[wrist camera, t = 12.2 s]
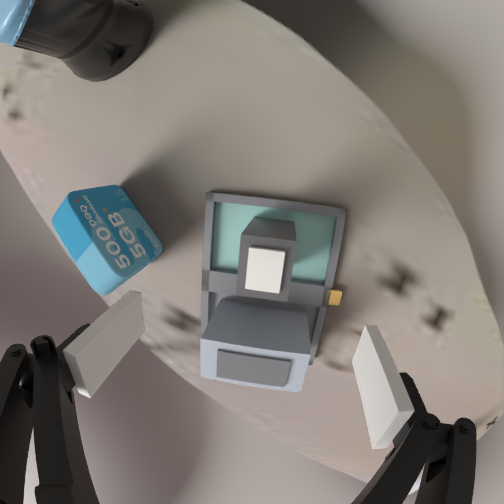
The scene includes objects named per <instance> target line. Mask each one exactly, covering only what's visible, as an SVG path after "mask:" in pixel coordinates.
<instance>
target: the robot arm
mask: <svg viewBox="0 0 504 504" xmlns="http://www.w3.org/2000/svg"><path fill="white" fill-rule="evenodd" d="M152 24H153V22H152V16H151V14H150V12H149V11H148V10H147V9H146V8H145V7H144V6H143V5H142V4H140V3H138V2H136V1H133V0H1V2H0V42H3V43H6V44H9V46H10V47H13V46H14V47H18V48H23V49H27V50H31V51H35V52H38V53H42V54H46V55H49V56H52V57H56V58H59V59H61V60H62V61H63V62H64V63H65V64H66V65H67V66H68V67H69V68H70V69H71V70H72V71H73V72H74V73H75V74H76V75H77V76H78V77H80V78H83V79H86V80H89V81H94V82H97V81H103V80H106V79H109V78H111V77H113V76H115V75H117V74H118V73H120V72H121V71H123V70H124V69H125V68H127V67H128V66H129V65H130V64H131V63H132V62H133V61H134V60H135V59H136V58H137V56H138V55H139V54H140V53H141V51H142V50H143V48H144V47H145V45H146V43H147V41H148V39H149V37H150V34H151V31H152ZM144 331H145V326H144V317H143V307H142V296H141V292H137V291H133V290H130V291H129V292H128V293H127V294H125V295H124V296H123V297H122V298H121V299H120V300H118V301H117V302H116V303H115V304H114V305H113V306H111V307H110V308H109V309H108V310H107V311H106V312H105V313H103V314H102V315H101V316H100V317H99V318H98V319H97V320H96V321H94V322H93V323H92V324H86V325H84V326H81V327H80V328H79V329H77V330H76V331H75V333H73V334H72V335H71V336H70V337H68V339H66V340H65V341H64V342H63V343H62V344H61V345H59V346H58V347H57V348H56V347H55V344H54V341H53V339H52V338H51V337H50V336H47V335H42V336H38V337H36V338H34V339H33V340H32V341H31V343H30V346H31V349H32V351H33V354H30V353H28V352H27V350H26V348H25V346H24V345H22V344H14V345H11V346H10V347H9V348H8V349H7V350H6V352H5V354H4V356H3V358H2V360H1V362H0V504H23V500H24V484H25V474H26V465H27V457H28V451H29V445H30V439H31V433H32V429H33V428H34V443H35V454H36V462H37V469H38V476H39V486H36V487H35V497H36V502H37V504H99V501H98V498H97V495H96V492H95V489H94V486H93V483H92V480H91V477H90V473H89V469H88V466H87V462H86V458H85V454H84V450H83V446H82V441H81V436H80V431H79V426H78V420H77V414H76V407H75V401H74V393H73V390H72V388H73V387H74V386H75V385H76V387H77V389H78V391H79V393H80V394H82V395H85V396H87V397H89V398H91V397H92V396H93V395H94V393H95V392H96V391H97V389H98V388H99V387H100V385H101V384H102V383H103V382H104V380H105V379H106V378H107V377H108V375H109V374H110V373H111V372H112V370H113V369H114V368H115V367H116V365H117V364H118V363H119V362H120V360H121V359H122V358H123V356H124V355H125V354H126V353H127V351H128V350H129V349H130V348H131V347H132V345H133V344H134V343H135V342H136V341H137V339H138V338H139V337H140V336H141V334H142V333H143V332H144ZM352 364H353V368H354V371H355V375H356V379H357V383H358V387H359V391H360V395H361V399H362V404H363V408H364V412H365V417H366V421H367V426H368V430H369V435H370V440H371V445H372V449H379V448H387V447H388V446H389V445H390V443H391V442H392V441H393V444H394V448H393V449H392V450H391V452H390V453H389V454H388V455H387V456H386V457H385V461H384V462H383V464H382V465H381V467H380V468H379V469H378V471H377V472H376V473H375V475H374V476H373V478H372V479H371V480H370V481H369V483H368V484H367V485H366V487H365V488H364V489H363V490H362V492H361V493H360V494H359V496H357V498H356V499H355V500H354V501H353V502H352V503H351V504H402V503H403V501H404V500H405V498H406V497H407V495H408V493H409V492H410V490H411V488H412V486H413V485H414V483H415V481H416V479H417V478H418V476H419V474H420V472H421V470H422V468H423V466H424V464H425V466H424V470H423V475H422V479H421V483H420V487H419V491H418V494H417V498H416V501H415V504H471V503H472V497H473V489H474V480H475V467H476V427H475V424H474V423H473V422H472V421H471V420H470V419H467V418H460V419H458V420H457V421H456V422H455V423H454V425H451V424H443V423H440V420H439V419H438V418H437V417H436V416H435V415H433V414H430V413H428V412H427V410H426V408H425V405H424V403H423V401H422V399H421V396H420V394H419V393H418V390H417V387H416V385H415V383H414V381H413V379H412V378H411V377H410V376H409V375H408V374H407V373H399V372H398V369H397V367H396V365H395V363H394V360H393V358H392V356H391V354H390V352H389V350H388V347H387V345H386V343H385V341H384V339H383V337H382V335H381V333H380V331H379V329H378V327H377V326H376V325H365V327H364V330H363V333H362V336H361V338H360V341H359V344H358V347H357V350H356V352H355V355H354V358H353V360H352ZM19 383H20V384H19Z"/></svg>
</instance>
